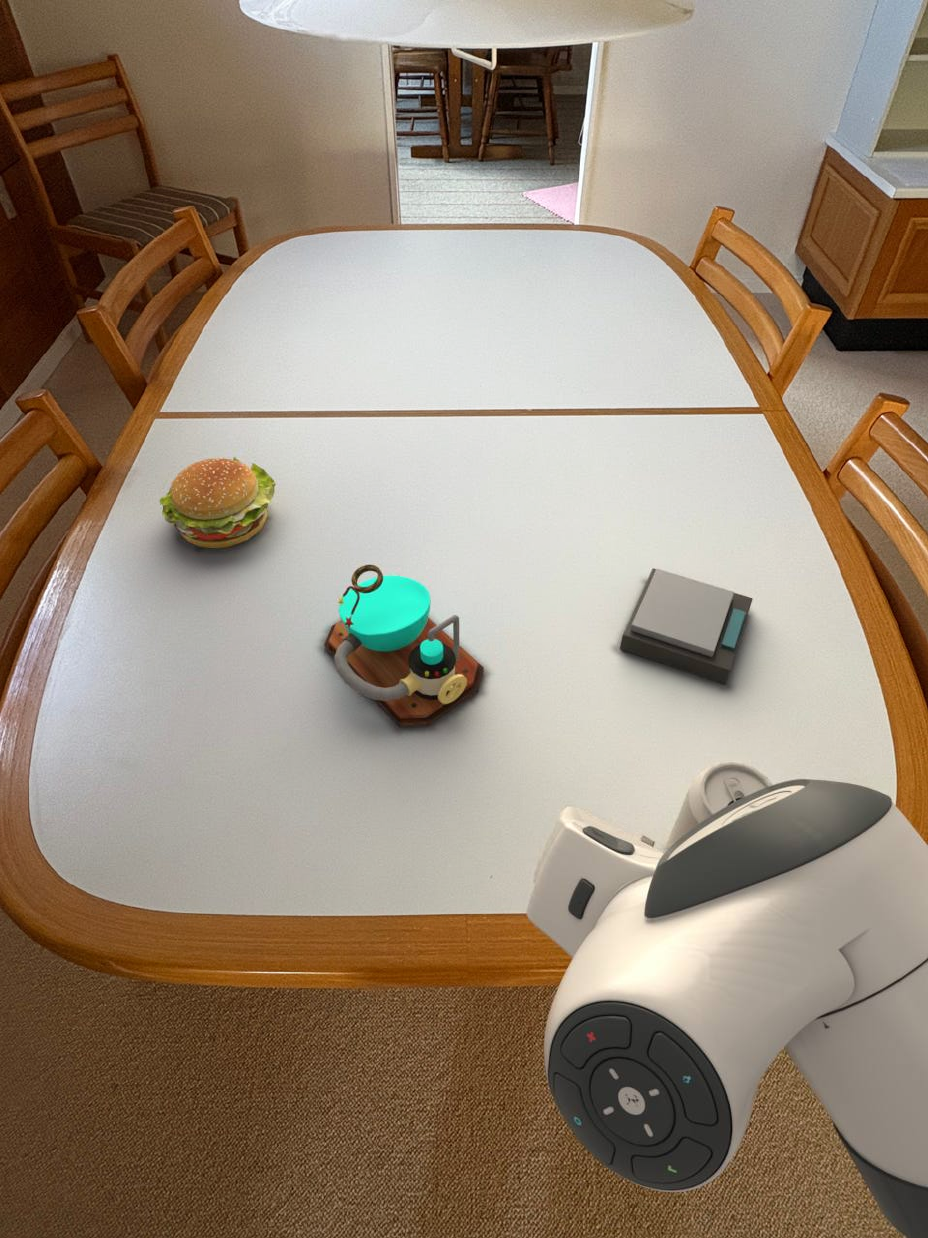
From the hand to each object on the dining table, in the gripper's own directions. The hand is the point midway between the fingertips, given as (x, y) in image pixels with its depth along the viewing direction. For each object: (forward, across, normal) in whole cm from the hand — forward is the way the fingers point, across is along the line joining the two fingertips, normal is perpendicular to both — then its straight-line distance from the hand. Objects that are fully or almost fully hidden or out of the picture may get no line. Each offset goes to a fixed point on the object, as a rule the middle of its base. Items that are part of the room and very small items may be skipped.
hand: (703, 878), depth 56 cm
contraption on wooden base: (+20, +38, +1) cm, 43 cm away
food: (+26, +71, -5) cm, 75 cm away
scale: (+35, +12, -15) cm, 40 cm away
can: (+17, 0, +3) cm, 18 cm away
